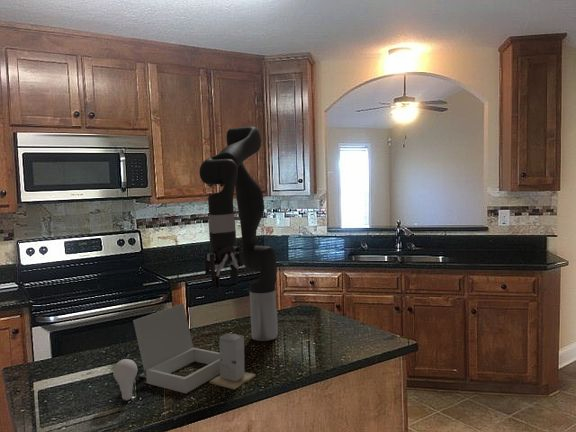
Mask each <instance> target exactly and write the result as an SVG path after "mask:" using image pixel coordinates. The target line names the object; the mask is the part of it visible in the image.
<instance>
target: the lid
mask: <svg viewBox="0 0 576 432" xmlns="http://www.w3.org/2000/svg"><path fill="white" fill-rule="evenodd" d="M132 322H133V327H134V331H135V335H136V339H137V344H138V345H137V346H138V349H139V353H140V357H141V361H142V368H143V371H144V370H146V369H149V368H151V367H153V366H155V365H157V364H159V363H161V362H164V361H166V360H168V359H170V358H172V357H174V356H177V355H179V354H181V353H183V352H185V351H187V350H189V349H192V348H194V344H193V340H192V335H191V331H190V327H189V326H190V325H189V322H188V318H187V314H186V309H185V304H184V303H180V304H177V305H174V306H171V307H168V308H165V309H163V310H160V311H157V312H154V313H150V314H148V315H146V316H145V315H144V316H142V317H139V318H136V319H133V320H132Z"/></svg>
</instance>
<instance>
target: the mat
mask: <svg viewBox="0 0 576 432" xmlns="http://www.w3.org/2000/svg"><path fill="white" fill-rule="evenodd" d="M244 372H245V376H244V377H243V378H241V379H239V380H238V381H232V380H228V379H224V378H221V377H220V374H219V375H217V376H216V377H214V378H212V379H210V380H209V381H208V383H209V384H211V385H215V386H218V387H224V388H228V389H231V390H237V388H239V387H241V386H242V385H244V384H245V383H247V382H248V381H250V380H251V379H253V378H255V377H256V373H252V372H247V371H244Z"/></svg>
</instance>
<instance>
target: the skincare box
mask: <svg viewBox="0 0 576 432" xmlns="http://www.w3.org/2000/svg"><path fill="white" fill-rule="evenodd" d="M219 353H220V374H219V375H220V377H221V378H224V379H228V380H232V381H238V380H239V379H241V378H243V377H244V376H245V372H246V371H245V336H244V335H241V334H236V333H230V332H227V333H225V334H223V335H221V336H219Z"/></svg>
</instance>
